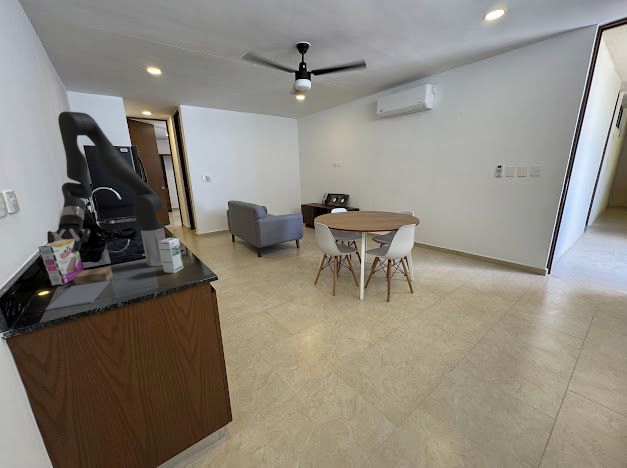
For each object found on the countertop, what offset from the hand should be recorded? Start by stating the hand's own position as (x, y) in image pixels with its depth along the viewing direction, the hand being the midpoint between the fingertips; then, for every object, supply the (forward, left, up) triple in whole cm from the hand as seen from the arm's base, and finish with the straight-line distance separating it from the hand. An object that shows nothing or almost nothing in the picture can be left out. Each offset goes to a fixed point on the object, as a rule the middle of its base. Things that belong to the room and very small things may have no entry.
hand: (66, 251), depth 104 cm
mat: (-10, +21, -12) cm, 26 cm away
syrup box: (-39, +9, -12) cm, 42 cm away
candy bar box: (0, +2, -12) cm, 12 cm away
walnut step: (-10, +8, -12) cm, 17 cm away
